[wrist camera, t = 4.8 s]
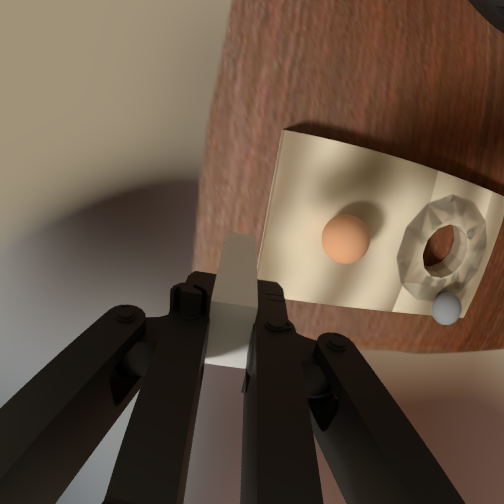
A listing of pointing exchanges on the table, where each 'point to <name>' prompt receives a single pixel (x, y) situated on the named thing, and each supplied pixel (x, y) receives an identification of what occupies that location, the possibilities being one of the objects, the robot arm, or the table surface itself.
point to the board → (373, 227)
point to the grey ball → (446, 308)
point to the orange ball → (345, 239)
